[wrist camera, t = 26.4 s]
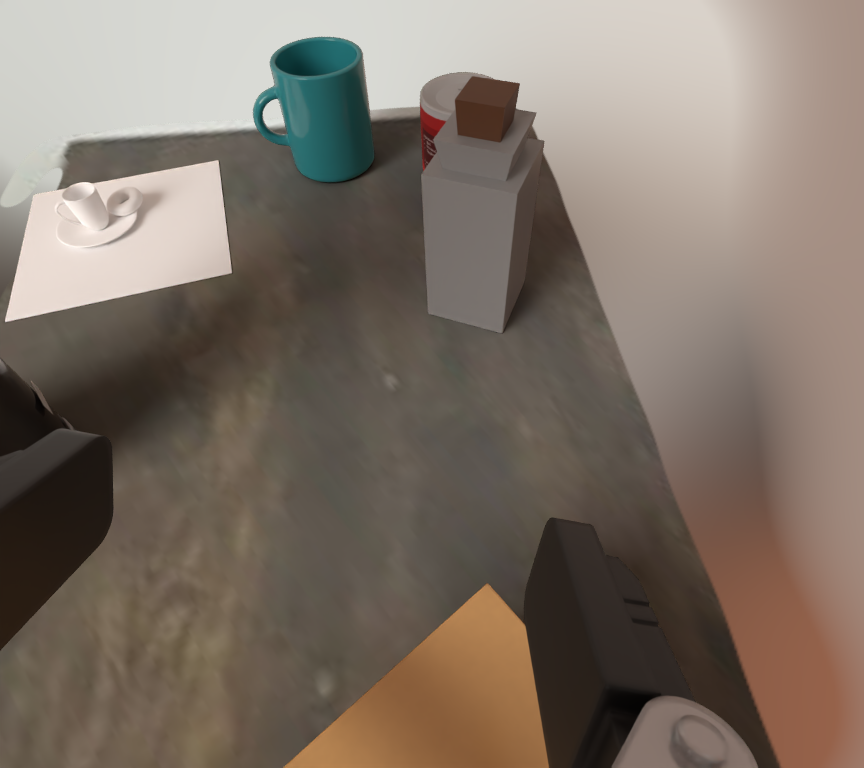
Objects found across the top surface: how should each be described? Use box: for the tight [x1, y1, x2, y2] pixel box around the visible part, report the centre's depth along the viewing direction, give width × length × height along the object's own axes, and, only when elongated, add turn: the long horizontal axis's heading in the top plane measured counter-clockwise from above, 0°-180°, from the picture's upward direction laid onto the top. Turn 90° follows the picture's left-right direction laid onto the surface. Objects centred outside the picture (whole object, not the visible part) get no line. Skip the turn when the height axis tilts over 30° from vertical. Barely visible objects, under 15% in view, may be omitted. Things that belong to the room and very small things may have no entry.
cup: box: [253, 37, 375, 182], centre depth 58 cm, size 9×12×11 cm
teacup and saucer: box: [54, 182, 144, 248], centre depth 56 cm, size 9×8×4 cm
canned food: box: [420, 72, 495, 171], centre depth 54 cm, size 8×8×11 cm
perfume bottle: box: [421, 76, 544, 333], centre depth 42 cm, size 7×7×18 cm
